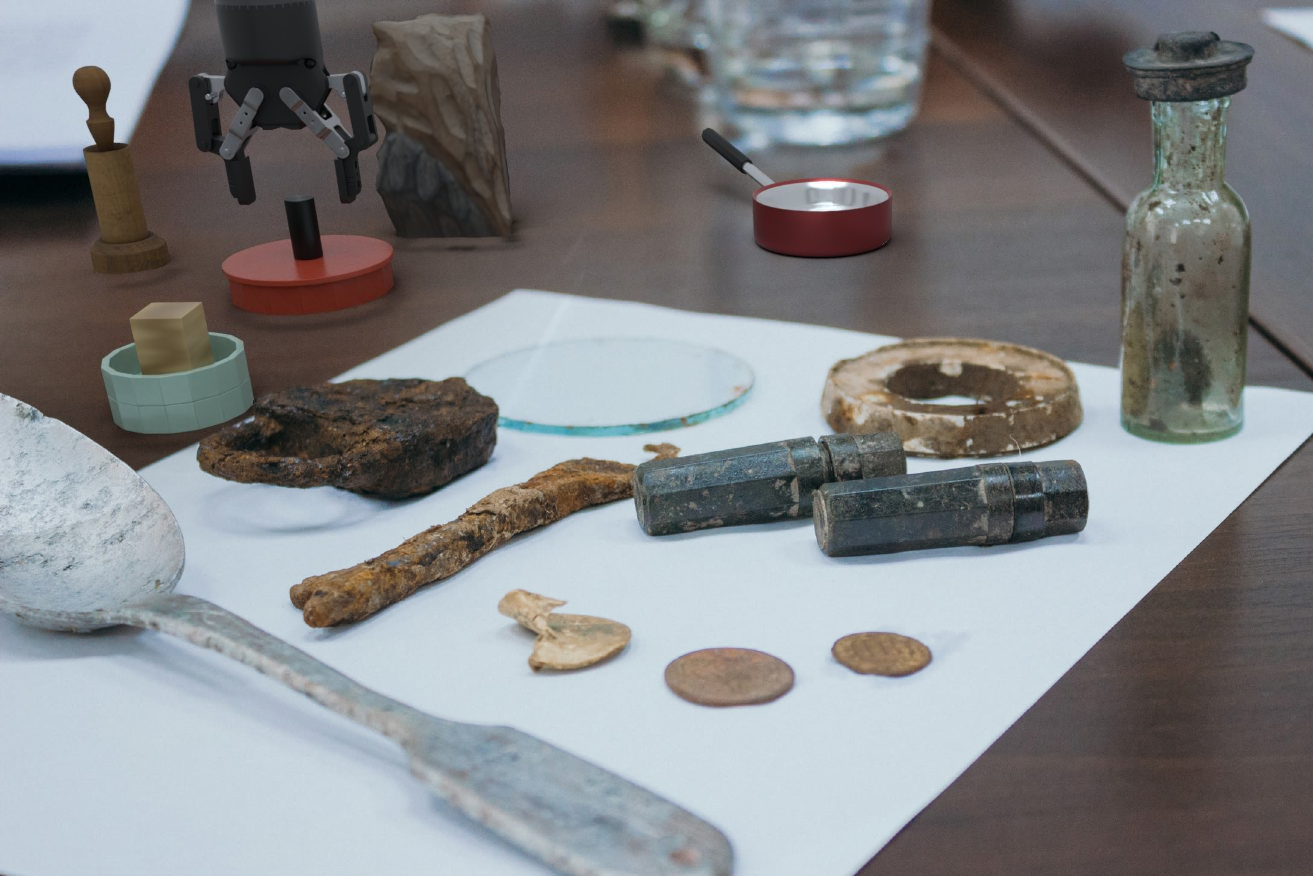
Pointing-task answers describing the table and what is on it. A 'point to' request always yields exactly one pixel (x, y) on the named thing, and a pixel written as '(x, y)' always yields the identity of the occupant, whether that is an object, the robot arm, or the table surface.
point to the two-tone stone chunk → (440, 127)
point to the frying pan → (813, 210)
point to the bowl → (178, 390)
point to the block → (171, 338)
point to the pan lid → (307, 253)
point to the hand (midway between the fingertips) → (298, 202)
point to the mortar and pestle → (115, 188)
